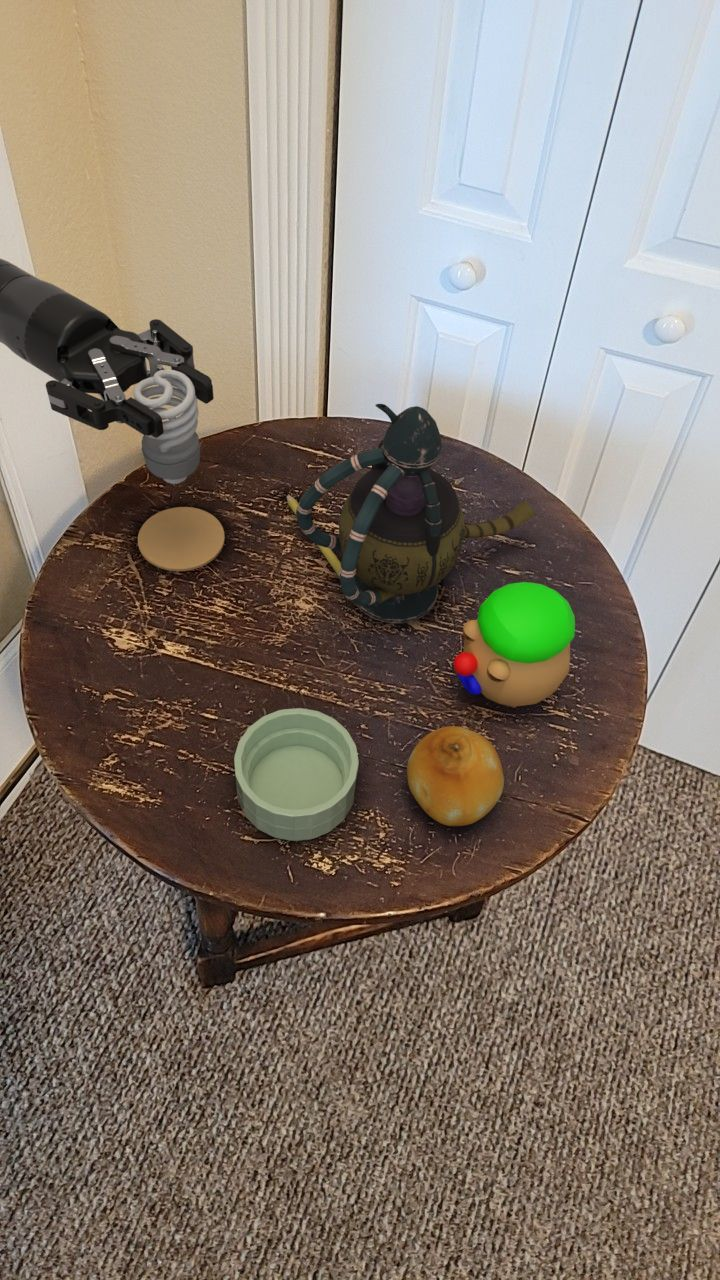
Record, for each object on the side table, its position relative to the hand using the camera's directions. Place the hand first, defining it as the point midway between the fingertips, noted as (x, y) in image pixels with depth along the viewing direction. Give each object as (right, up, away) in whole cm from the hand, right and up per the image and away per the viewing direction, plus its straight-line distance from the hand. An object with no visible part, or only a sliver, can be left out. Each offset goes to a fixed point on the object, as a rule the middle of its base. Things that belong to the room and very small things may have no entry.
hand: (185, 410), depth 81 cm
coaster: (-3, -10, +16) cm, 19 cm away
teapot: (+22, -14, +15) cm, 30 cm away
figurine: (+29, -25, +7) cm, 39 cm away
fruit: (+23, -34, 0) cm, 41 cm away
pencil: (+10, -9, +18) cm, 23 cm away
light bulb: (-3, -5, +9) cm, 11 cm away
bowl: (+10, -33, -1) cm, 35 cm away
